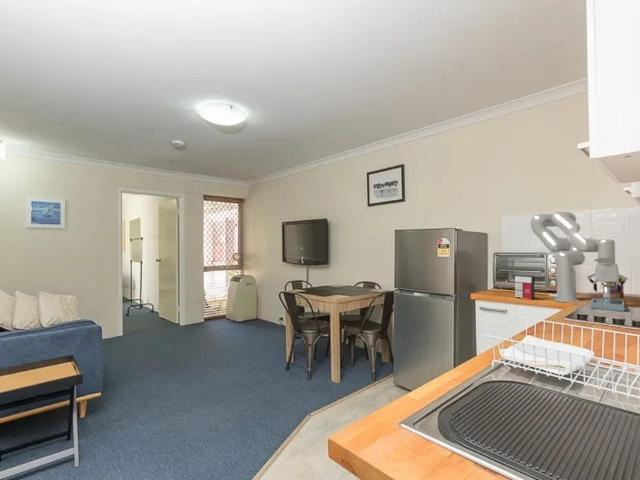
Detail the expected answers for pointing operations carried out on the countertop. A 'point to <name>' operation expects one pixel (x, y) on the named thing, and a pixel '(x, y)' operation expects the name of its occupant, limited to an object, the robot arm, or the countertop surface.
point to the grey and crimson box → (524, 286)
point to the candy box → (614, 288)
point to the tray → (607, 305)
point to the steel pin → (606, 292)
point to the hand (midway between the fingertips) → (607, 292)
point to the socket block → (612, 296)
